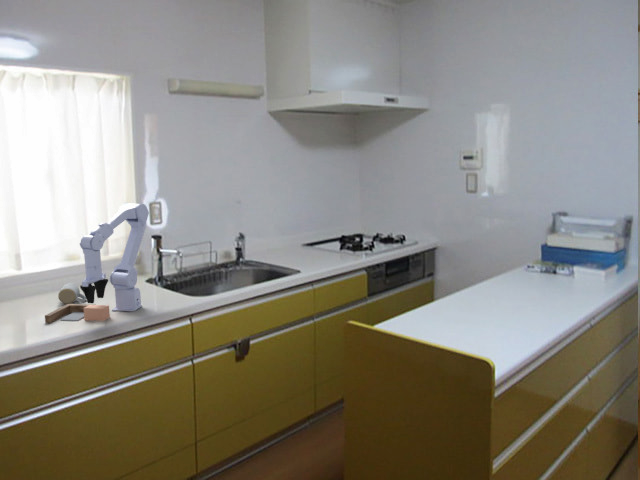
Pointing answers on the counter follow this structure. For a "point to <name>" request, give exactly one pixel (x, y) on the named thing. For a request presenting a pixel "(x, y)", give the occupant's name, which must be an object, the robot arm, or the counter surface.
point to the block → (96, 312)
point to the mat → (74, 316)
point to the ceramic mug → (70, 294)
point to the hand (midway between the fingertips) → (95, 300)
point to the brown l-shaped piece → (64, 311)
